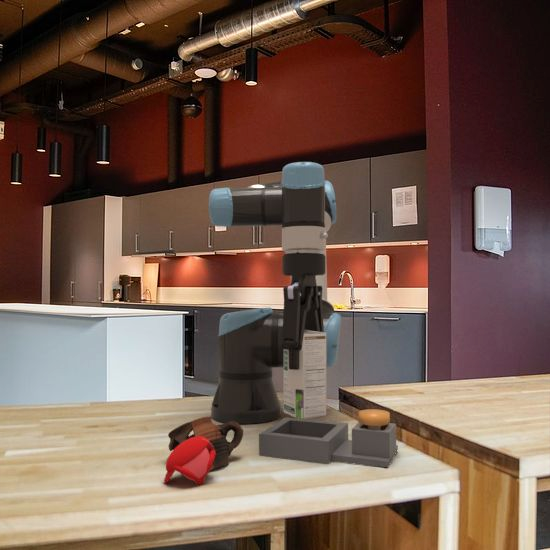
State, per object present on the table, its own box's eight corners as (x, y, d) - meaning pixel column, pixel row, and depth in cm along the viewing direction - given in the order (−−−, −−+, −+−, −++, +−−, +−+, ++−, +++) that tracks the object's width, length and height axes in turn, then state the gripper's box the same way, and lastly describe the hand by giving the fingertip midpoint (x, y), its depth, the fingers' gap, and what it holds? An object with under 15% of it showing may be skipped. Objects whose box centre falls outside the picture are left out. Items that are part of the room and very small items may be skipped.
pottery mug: (184, 482, 77) (165, 428, 80) (177, 490, 85) (160, 441, 88) (257, 450, 82) (237, 400, 85) (244, 460, 90) (226, 415, 93)
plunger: (355, 449, 85) (355, 414, 85) (362, 440, 89) (362, 408, 89) (387, 452, 83) (386, 417, 83) (392, 444, 87) (392, 410, 87)
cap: (214, 447, 81) (180, 428, 80) (224, 444, 76) (188, 424, 75) (189, 498, 77) (153, 479, 76) (198, 498, 72) (160, 478, 71)
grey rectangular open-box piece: (259, 455, 87) (258, 424, 87) (285, 436, 98) (285, 409, 98) (386, 471, 79) (385, 437, 79) (399, 448, 90) (398, 419, 90)
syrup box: (282, 413, 92) (281, 330, 92) (311, 409, 95) (310, 328, 95) (298, 420, 87) (297, 332, 87) (328, 416, 90) (327, 331, 90)
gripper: (304, 248, 81) (305, 397, 80) (340, 255, 100) (341, 375, 99) (259, 250, 83) (260, 394, 83) (303, 256, 103) (304, 373, 102)
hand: (304, 384), depth 91 cm, fingers closed on syrup box, 8 cm apart
